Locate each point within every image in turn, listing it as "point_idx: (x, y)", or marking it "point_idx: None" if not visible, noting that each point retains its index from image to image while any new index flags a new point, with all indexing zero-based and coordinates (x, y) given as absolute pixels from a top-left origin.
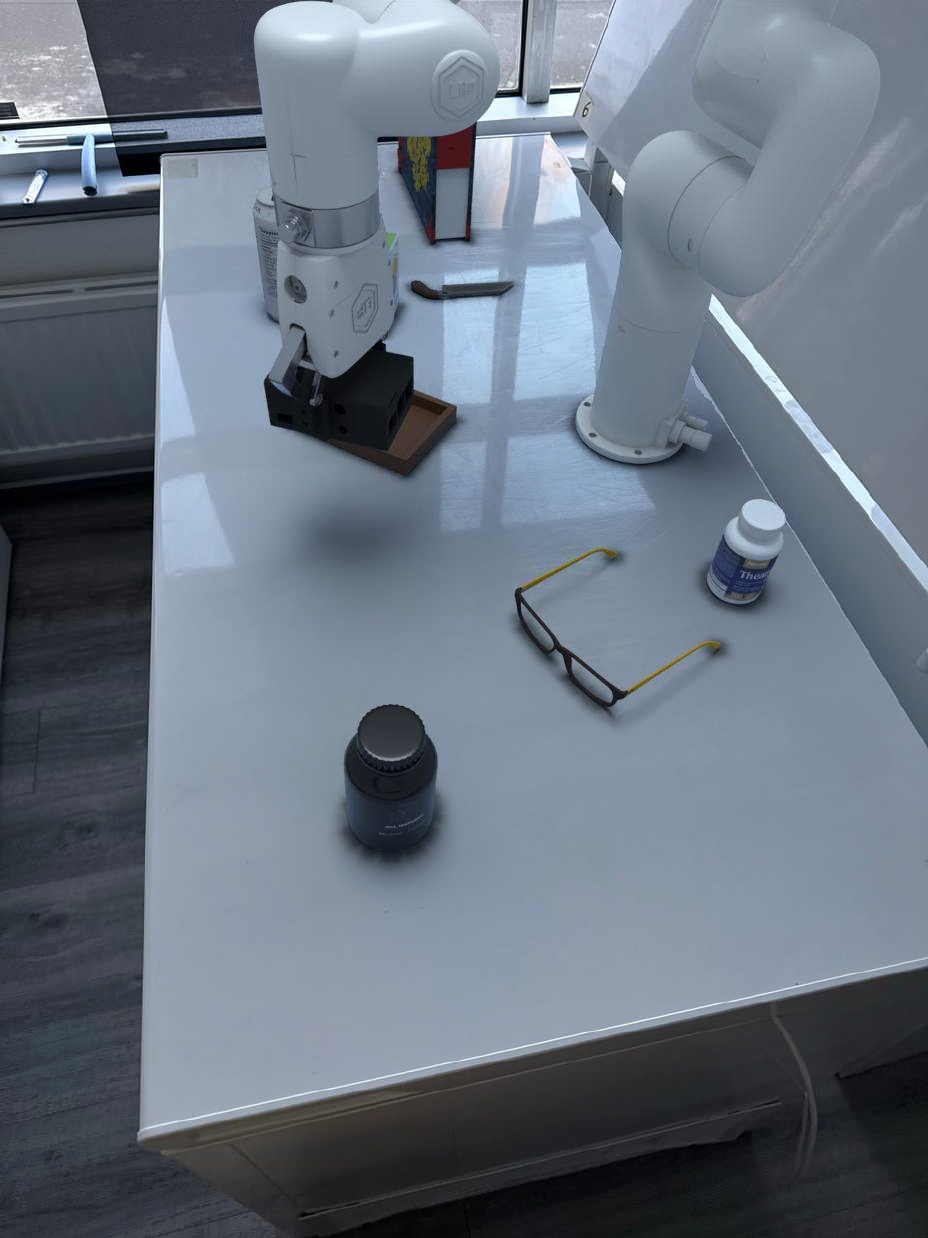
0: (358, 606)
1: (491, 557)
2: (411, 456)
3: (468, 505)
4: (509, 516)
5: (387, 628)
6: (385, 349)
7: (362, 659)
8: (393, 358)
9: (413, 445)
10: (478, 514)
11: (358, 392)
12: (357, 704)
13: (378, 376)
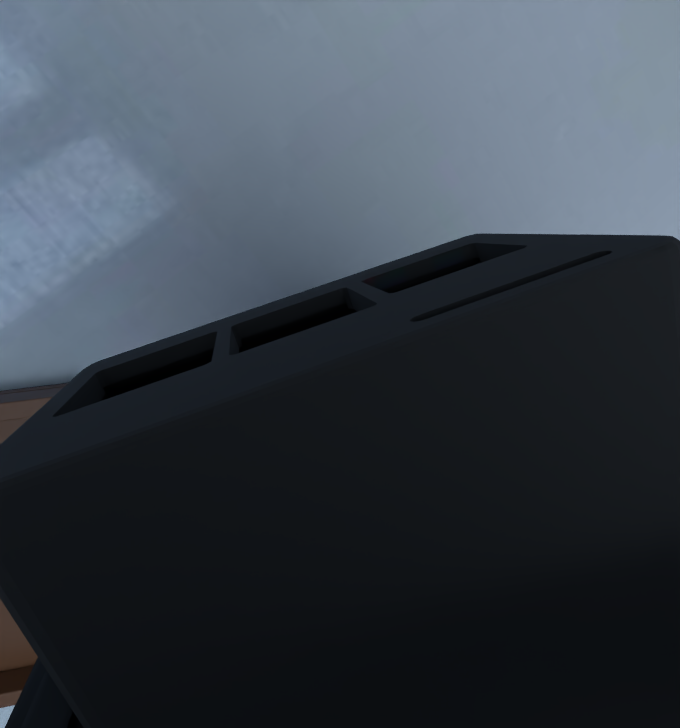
0: (449, 223)
1: (160, 49)
2: (39, 396)
3: (51, 200)
4: (3, 84)
5: (464, 139)
6: (32, 725)
7: (547, 136)
8: (119, 604)
9: (3, 417)
10: (59, 161)
11: (629, 503)
12: (630, 80)
13: (402, 527)
